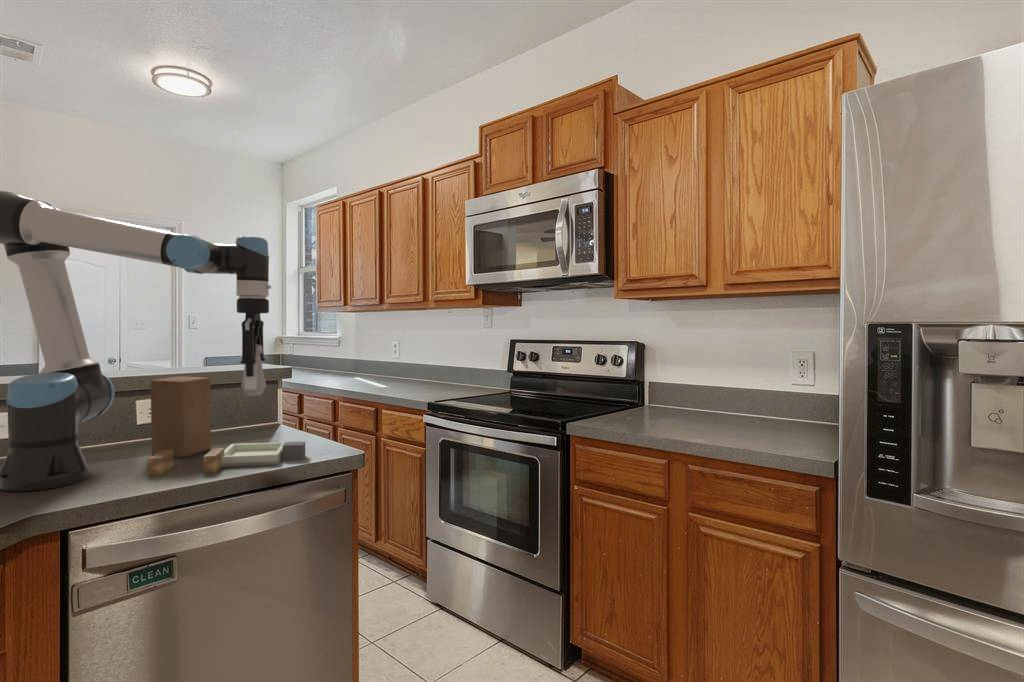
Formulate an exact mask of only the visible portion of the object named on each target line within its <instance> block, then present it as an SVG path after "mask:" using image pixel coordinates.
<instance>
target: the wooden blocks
mask: <svg viewBox="0 0 1024 682" xmlns="http://www.w3.org/2000/svg"><path fill="white" fill-rule="evenodd" d="M224 450H225V447H221V448H220V447H215V448H212V449H210V451H208V452H207V453H206V454H204V456H203V474H210V473H211V474H216V472H218V470H220V469H221V468H222V467H221V457H222V456H223V455H224ZM173 466H174V457H173V450H161V451H160V452H158V453H157V454H155V455H151V456H150V457H149V458H148V476H162V475H164V473H166V472H167V471H168V470H170V469H172V468H173Z"/></svg>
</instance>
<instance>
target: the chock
mask: <svg viewBox="0 0 1024 682" xmlns="http://www.w3.org/2000/svg"><path fill="white" fill-rule="evenodd" d="M284 442H285V441H284ZM305 457H306V441H286V442H285V443H284V444H283V458H282V461H283V460H284V461H303V460H304V459H305Z"/></svg>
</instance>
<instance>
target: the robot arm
mask: <svg viewBox="0 0 1024 682" xmlns="http://www.w3.org/2000/svg"><path fill="white" fill-rule="evenodd" d="M0 244H2V245H3V247H4V250H5V254H6V257H7V260H8V261H10V262H12V263H14V264H16V265H17V266H18V269H19V273H20V277H21V281H22V284H23V287H24V288H23V289H24V290H25V296H26V298H27V303H28V306H29V309H30V310H29V311H30V313H31V318H32V320H33V321H32V322H33V325H34V328H35V331H36V336H37V339H38V342H39V346H40V350H41V353H42V358H43V361H44V367H43V368H42V369H41V370H40V371H39V373H36V374H30V375H25V376H20V377H18V378H16V379H13V380H12V381H11V382H9V384H8V387H7V394H6V399H5V400H6V401H5V402H6V404H7V405H6V406H7V408H6V409H7V433H8V452H7V454H6V457H5V459H4V462H3V465H2V468H1V470H0V490H2V491H4V492H5V491H6V492H31V491H32V492H33V491H41V490H49V489H55V488H59V487H64V486H67V485H72V484H75V483H78V482H81V481H83V480H85V479H87V478H88V477H89V465H88V463H87V460H86V458H85V456H84V454H83V452H82V450H81V447H80V445H79V441H78V439H79V436H78V434H79V433H78V431H79V428H78V425H79V424H82V423H83V422H87V421H92V420H94V419H95V418H96V419H97V417H99V416H101V415H102V414H105V412H107V411H108V409H110V407H111V406H112V405H113V402H114V399H115V396H116V395H115V394H116V391H115V386H114V384H113V382H112V380H111V379H110V378H109V377H107V376H106V375H105V374H103V373H102V369H101V365H100V362H99V361H97V360H95V359H94V358H92V357H91V356H90V353H89V350H88V346H87V343H86V342H87V341H86V338H85V334H84V330H83V327H82V323H81V320H80V316H79V315H80V314H79V312H78V307H77V304H76V301H75V297H74V294H73V290H72V285H71V281H70V278H69V274H68V270H67V266H66V260H67V259H68V258H69V257H70V256H71V251H70V248H74V249H79V250H85V251H89V252H95V253H101V254H106V255H112V256H116V257H123V258H128V259H133V260H139V261H143V262H149V263H155V264H159V265H164V266H165V265H167V266H169V267H176V268H181V269H184V270H185V272H187V273H190V274H191V273H192V274H199V275H203V274H212V275H213V274H214V275H215V274H216V275H217V274H221V275H222V274H223V275H225V274H226V275H236V286H235V288H236V291H235V294H236V295H235V296H237V297H238V298H237V299H236V312H237V313H238V314H245V318H244V320H243V321H242V322H241V332H242V333H241V335H242V336H241V338H242V339H241V344H242V345H241V351H242V352H241V355H242V356H241V360H240V364H241V365H243V367H244V369H243V373H244V383H245V390H249V389H257V364H255V362H256V360H255V359H256V344H258V345H261V346H262V349H263V350H262V353H260V358H261V364H262V365H263V362H265V361H266V357H264V356H265V355H264V325H265V323H264V321H263V320H262V319H261V314H269V312H270V301H269V299H268V297H269V293H270V292H269V291H270V290H271V289H272V285H270V284H269V283H270V282H269V281H270V280H269V279H270V277H269V276H270V275H269V272H270V271H269V269H270V268H269V266H270V263H269V262H270V254H269V243H268V241H267V239H265V238H263V237H259V236H250V235H249V236H248V235H247V236H246V235H245V236H243V235H241V236H237V237H236V239H235V243H231V244H226V243H212V242H209V241H206V240H205V239H203V238H200V237H199V236H196V235H192V234H187V233H183V234H182V233H176V232H171V231H166V230H161V229H156V228H153V227H152V228H151V227H147V226H143V225H136V224H131V223H127V222H121V221H116V220H111V219H107V218H102V217H96V216H91V215H86V214H82V213H76V212H71V211H67V210H63V209H62V210H61V209H59V208H57V207H55V206H53V205H52V204H50V203H48V202H46V201H42V200H39V199H33V198H30V197H27V196H23V195H21V194H19V193H15V192H11V191H4V190H0Z"/></svg>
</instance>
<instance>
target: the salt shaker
mask: <svg viewBox="0 0 1024 682" xmlns="http://www.w3.org/2000/svg"><path fill="white" fill-rule="evenodd" d="M262 350H263V351H264V348H263V349H262V346H261V345H258V344H256V359H255V360H256V362H255V364H257V389H249V390H245V383H244V372H243V374H242V379H241V388H242V389H241V390H242V392H243V393H244V395H245V396H249V397H251V396H253V397H254V396H261V395H262V394H263V392H264V391H265V389H266V387H267V383H266V378H265V374H264V368H263V363H262V364H261V358H260V353H262Z"/></svg>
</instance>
